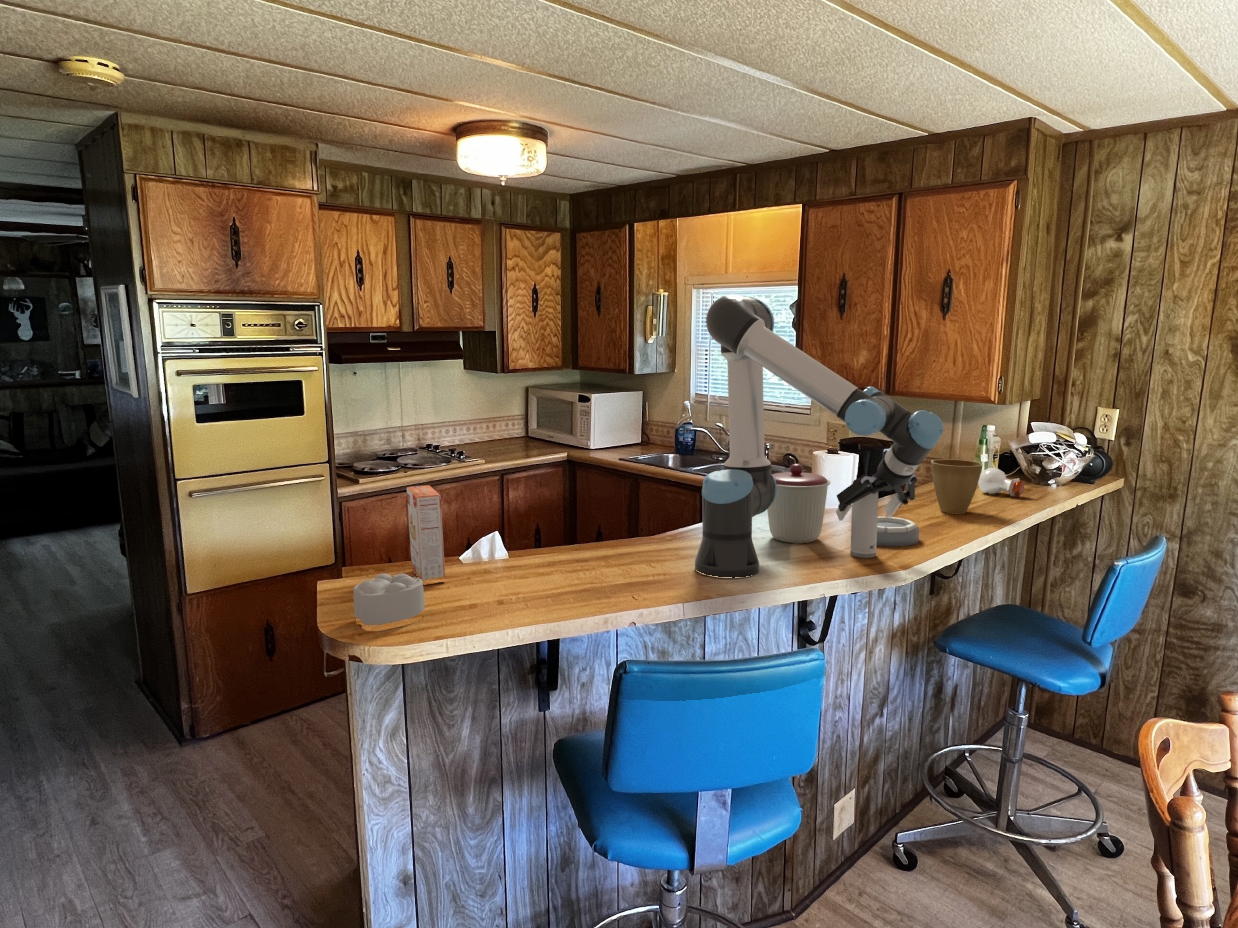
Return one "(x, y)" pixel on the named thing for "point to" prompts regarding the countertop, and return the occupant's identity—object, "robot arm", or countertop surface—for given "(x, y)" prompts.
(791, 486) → the canister
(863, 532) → the travel mug
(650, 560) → the countertop surface
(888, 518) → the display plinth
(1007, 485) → the potion bottle
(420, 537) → the cracker box
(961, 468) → the plant pot
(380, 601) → the lumpy-topped squat cylinder
